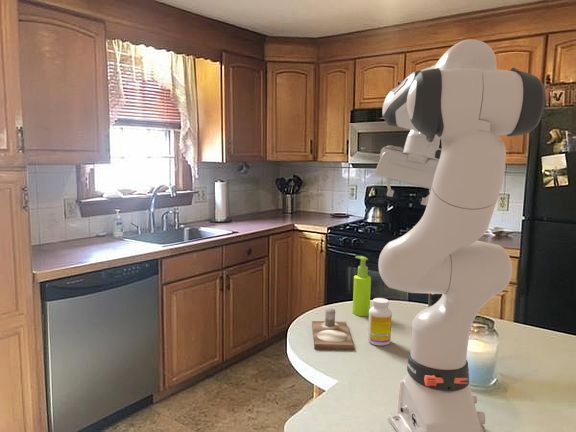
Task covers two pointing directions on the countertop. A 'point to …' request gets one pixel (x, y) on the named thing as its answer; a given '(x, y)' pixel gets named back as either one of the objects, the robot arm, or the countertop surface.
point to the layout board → (331, 333)
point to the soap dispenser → (361, 289)
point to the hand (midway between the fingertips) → (406, 200)
